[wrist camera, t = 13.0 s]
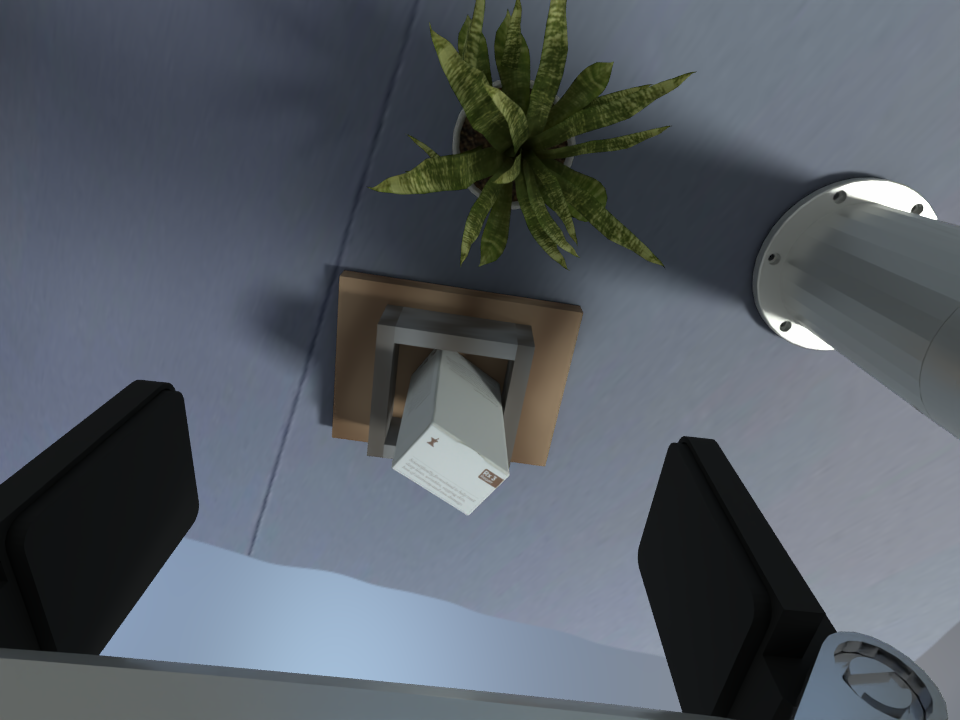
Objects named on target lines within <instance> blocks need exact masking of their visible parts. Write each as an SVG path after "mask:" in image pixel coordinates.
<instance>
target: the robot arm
mask: <svg viewBox="0 0 960 720" xmlns="http://www.w3.org/2000/svg"><path fill="white" fill-rule="evenodd" d="M835 193H836V195H835ZM834 195H835V197H834ZM833 197H834V198H833ZM771 254H772V256H771V258H769V256H770V255H771ZM768 258H769V259H768ZM753 295H754V300H755V304H756V307H757V309H758V311H759V313H760V316H761V317H762V319H763V320H764V321H765V323H766V324H767V325H768V326H769V328H771V329H772V330H773V331H774V332H775V333H776V334H778V335H779V336H780V337H782V338H783V339H785V340H786V341H788V342H790V343H792V344H794V345H797V346H800V347H803V348H807V349H813V350H836V351H838V352H839V353H840V354H842V355H843V356H844V357H846V358H847V359H849V360H850V361H851V362H853V363H854V364H855V365H857V366H858V367H859V368H861V369H862V370H864V371H865V372H866V373H868V374H869V375H870V376H872V377H873V378H874V379H876V380H877V381H879V382H880V383H881V384H883V385H884V386H885V387H887V388H888V389H890V390H891V391H892V392H894V393H895V394H896V395H898V396H899V397H900V398H902V399H903V400H905V401H906V402H907V403H909V404H910V405H911V406H913V407H914V408H915V409H917V410H918V411H920V412H921V413H922V414H924V415H925V416H926V417H928V418H929V419H931V420H932V421H933V422H935V423H936V424H937V425H939V426H940V427H942V428H943V429H945V430H946V431H947V432H949V433H950V434H952V435H953V436H954V437H956V438H957V439H959V440H960V226H958V225H954V224H951V223H947V222H943V221H940V220H938V219H937V216H936V214H935V212H934V211H933V209H932V207H931V206H930V204H929V203H928V202H927V201H926V200H925V199H924V198H923V197H922V196H921V195H920V194H919V193H918V192H917V191H915V190H913V189H911V188H910V187H908V186H906V185H904V184H901V183H897V182H894V181H890V180H885V179H879V178H873V177H869V178H852V179H848V180H843V181H839V182H835V183H833V184H830V185H828V186H825V187H823V188H820V189H818V190H816V191H815V192H813V193H811V194H810V195H808V196H806V197H805V198H803V199H801V200H800V201H799V202H798V203H796V204H795V205H794V206H793V207H792V208H790V209H789V210H788V211H787V212H786V213H785V214H784V215H783V216H782V217H781V218H780V220H779V221H778V222H777V223H776V224H775V225H774V226H773V228H772V229H771V231H770V233H769V234H768V236H767V237H766V239H765V240H764V242H763V244H762V247H761V249H760V251H759V254H758V256H757V258H756V263H755V267H754V272H753ZM781 323H782V324H781ZM198 510H199V500H198V493H197V486H196V480H195V473H194V466H193V459H192V452H191V445H190V438H189V431H188V424H187V417H186V410H185V404H184V398H183V395H182V394H181V393H180V392H179V391H175V388H174V387H173V385H172V384H170V383H166V382H156V381H146V380H136V381H134V382H132V383H131V384H130V385H128V386H127V387H126V388H124V389H123V390H122V391H120V392H119V393H118V394H117V395H115V396H114V397H113V398H111V399H110V400H109V401H108V402H106V403H105V404H104V405H102V406H101V407H100V408H99V409H97V410H96V411H95V412H93V413H92V414H91V415H90V416H88V417H87V418H86V419H84V420H83V421H82V422H81V423H79V424H78V425H77V426H75V427H74V428H73V429H71V430H70V431H69V432H68V433H66V434H65V435H64V436H62V437H61V438H60V439H59V440H57V441H56V442H55V443H53V444H52V445H51V446H50V447H48V448H47V449H46V450H44V451H43V452H42V453H41V454H39V455H38V456H37V457H35V458H34V459H33V460H32V461H30V462H29V463H28V464H26V465H25V466H24V467H23V468H21V469H20V470H19V471H17V472H16V473H15V474H13V475H12V476H11V477H10V478H8V479H7V480H6V481H4V482H3V483H2V484H1V485H0V720H948V713H947V707H946V702H945V700H944V698H943V697H942V695H941V693H940V691H939V689H938V687H937V686H936V685H935V683H934V682H933V681H932V680H931V679H930V677H929V676H928V675H927V674H926V673H925V671H924V670H922V669H921V668H920V667H919V666H918V665H917V664H916V663H914V662H913V661H912V660H911V659H910V658H909V657H907V656H906V655H904V654H903V653H901V652H900V651H898V650H897V649H895V648H894V647H892V646H891V645H889V644H887V643H885V642H882V641H880V640H878V639H876V638H874V637H872V636H868V635H864V634H860V633H857V632H837V631H836V630H835V628H834V627H833V625H832V624H831V622H830V620H829V619H828V617H827V616H826V613H825V612H824V610H823V609H822V607H821V606H820V604H819V602H818V601H817V599H816V598H815V596H814V595H813V593H812V591H811V590H810V588H809V587H808V585H807V584H806V582H805V580H804V579H803V577H802V576H801V574H800V572H799V571H798V569H797V568H796V566H795V565H794V563H793V561H792V560H791V558H790V557H789V555H788V554H787V552H786V550H785V549H784V547H783V546H782V544H781V543H780V541H779V539H778V538H777V536H776V535H775V533H774V532H773V530H772V528H771V527H770V525H769V524H768V522H767V521H766V519H765V517H764V516H763V514H762V513H761V511H760V510H759V508H758V506H757V505H756V503H755V502H754V500H753V499H752V497H751V495H750V494H749V492H748V491H747V489H746V488H745V486H744V484H743V483H742V481H741V480H740V478H739V476H738V475H737V473H736V472H735V470H734V469H733V467H732V465H731V464H730V462H729V461H728V459H727V458H726V456H725V454H724V453H723V451H722V450H721V448H720V447H719V445H718V443H717V442H716V441H715V440H713V439H706V438H696V437H687V436H683V437H682V438H681V439H680V440H679V442H678V443H671V444H670V446H669V448H668V451H667V454H666V457H665V461H664V464H663V468H662V471H661V474H660V478H659V481H658V484H657V488H656V491H655V495H654V498H653V501H652V505H651V508H650V511H649V515H648V518H647V522H646V525H645V528H644V532H643V535H642V538H641V542H640V545H639V549H638V565H639V569H640V572H641V576H642V579H643V582H644V586H645V589H646V592H647V596H648V599H649V602H650V606H651V609H652V612H653V616H654V619H655V622H656V626H657V629H658V632H659V636H660V639H661V642H662V646H663V649H664V652H665V656H666V659H667V662H668V666H669V669H670V672H671V676H672V679H673V682H674V686H675V689H676V692H677V696H678V699H679V702H680V706H681V709H682V712H683V713H681V712H673V711H664V710H655V709H647V708H639V707H631V706H622V705H612V704H604V703H594V702H584V701H573V700H564V699H553V698H544V697H534V696H525V695H515V694H505V693H495V692H485V691H475V690H465V689H455V688H445V687H435V686H424V685H414V684H403V683H393V682H383V681H372V680H362V679H352V678H340V677H330V676H320V675H309V674H299V673H298V674H297V673H287V672H277V671H267V670H256V669H245V668H234V667H223V666H211V665H200V664H189V663H177V662H166V661H156V660H144V659H133V658H122V657H111V656H100V655H99V654H100V653H101V651H102V650H103V649H104V647H105V646H106V645H107V643H108V642H109V641H110V639H111V638H112V636H113V635H114V634H115V632H116V631H117V629H118V628H119V627H120V625H121V624H122V622H123V621H124V619H125V618H126V617H127V615H128V614H129V613H130V611H131V610H132V608H133V607H134V606H135V604H136V603H137V601H138V600H139V599H140V597H141V596H142V595H143V593H144V592H145V590H146V589H147V587H148V586H149V585H150V583H151V582H152V581H153V579H154V578H155V576H156V575H157V574H158V572H159V571H160V569H161V568H162V567H163V565H164V564H165V562H166V561H167V559H168V558H169V557H170V555H171V554H172V553H173V551H174V550H175V548H176V547H177V546H178V544H179V543H180V541H181V540H182V539H183V537H184V536H185V535H186V533H187V532H188V530H189V529H190V528H191V526H192V525H193V523H194V522H195V520H196V517H197V514H198Z"/></svg>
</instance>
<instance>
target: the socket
mask: <svg viewBox="0 0 960 720" xmlns="http://www.w3.org/2000/svg"><path fill="white" fill-rule="evenodd" d="M582 316H583V311H582V309H581V307H580V306H577V305H570V304H563V303H557V302H550V301H544V300H537V299H531V298H524V297H517V296H511V295H504V294H498V293H491V292H484V291H478V290H471V289H465V288H458V287H452V286H445V285H438V284H432V283H425V282H419V281H412V280H406V279H399V278H392V277H386V276H379V275H373V274H366V273H359V272H353V271H346V270H344V271H343V273H342V274H341V275H340V277H339V298H338V320H337V342H336V363H335V385H334V407H333V428H332V437H333V438H341V439H348V440H355V441H363V442H368V450H367V456H374V457H382V458H389V459H393V457H394V453H395V449H396V443H397V439H398V434H399V430H400V425H401V421H402V416H403V412H404V407H405V402H406V398H407V393H408V389H409V384H410V379H411V376H412V374H413V373H414V372H415V371H416V370H417V368H418V367H419V366H420V365H421V364H422V363H423V362H424V360H425V359H426V358H427V357H428V356H429V355H430V353H431V352H432V351H433V350H434V349H439V350H446V351H452V352H458V353H459V354H460V355H462V356H463V357H464V358H466V359H467V360H468V361H470V362H471V363H472V364H474V365H475V366H476V367H478V368H479V369H480V370H482V371H483V372H484V373H486V374H487V375H488V376H490V377H491V378H493V379H494V380H495V381H497V382H498V383H499V384H500V392H501V402H502V411H503V421H504V430H505V440H506V449H507V458H508V467H510V462H517V463H524V464H531V465H539V466H545V464H546V460H547V456H548V452H549V448H550V444H551V440H552V436H553V432H554V428H555V424H556V420H557V416H558V412H559V408H560V404H561V400H562V396H563V392H564V388H565V384H566V380H567V376H568V372H569V368H570V364H571V360H572V356H573V352H574V348H575V344H576V340H577V336H578V332H579V328H580V324H581V320H582Z"/></svg>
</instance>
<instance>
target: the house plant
mask: <svg viewBox="0 0 960 720" xmlns="http://www.w3.org/2000/svg"><path fill="white" fill-rule="evenodd" d="M566 2H567V0H551V3H550V9H549V14H548V19H547V24H546V30H545V36H544V43H543V49H542V54H541V60H540V65H539V69H538V72H537V76H536V79H535V81H533V80H530V56H529V49H528V46H527V44H526V41H525V39H524V37H523V35H522V34H521V28H520V23H521V11H522V8H521V3H520V0H516V3H515V7H514V10H513V13H512V17H511V16H510V13H509V11H508V9H507V14H506V17H505V19H504V20H503V22H502V24H501V25H500V27H499V28H498V30H497V32H496V37H495V43H494V50H495V60H496V65H497V69H498V73H499V77H500V80H497V81H495V82H493V83H492V78H491V72H490V63H489V55H488V48H487V44H486V39H485V37H484V35H483V33H482V25H483V18H484V10H485V0H476V3H475V8H474V13H473V18H472V20H471V19H470V18H469V16H468V15H467V18H466V21H465V22H464V24H463V26H462V28H461V30H460V32H459V36H458V50H459V54H458V52H457V51H456V50H455V48H454V47H453V46H452V45H451V43H450V42H449V41H448V40H446V39H445V38H443V37H441V36H440V35H438V34H437V33H435V32H434V31H433V30H432V29H431V25H430V33H431V38H432V41H433V44H434V47H435V49H436V52H437V55H438V58H439V61H440V64H441V67H442V69H443V71H444V73H445V75H446V77H447V79H448V81H449V83H450V86H451V88H452V90H453V91H454V93H455V95H456V96H457V98H458V100H459V102H460V103H461V105H462V107H463V109H462V111H461V112H460V114H459V116H458V119H457V122H456V125H455V128H454V131H453V145H452V150H453V155H446V156H441V157H440V156H439V155H438V154H437V153H435V152H434V151H433V150H432V149H430V148H429V147H428V146H427V145H425V144H424V143H422V142H420V141H419V140H417V139H415V138H414V137H412V136H410V135H408V134H407V135H408V136H409V137H410V138H411V139H412V140H413V141H414V142H415V143H416V144H417V145H418V146H419V147H421V148H422V149H423V150H424V151H425V152H426V153H427V154H428V155H429V157H430V158H429V159H425V160H424V161H423V162H421V163H420V164H419V165H418V166H416V167H415V168H414V169H412V170H411V171H405V172H407V173H405V174H401V175H397V176H394V177H390V178H387V179H386V180H384V181H383V182H381V183H380V184H379V185H377V186H375V187H373V188H370V187H368V188H370V189H372V190H375V191H378V192H386V193H395V194H426V193H432V192H439V191H449V190H461V189H467V188H468V189H469V190H470V191H471V192H472V193H473V194H474V195H475V196H477V197H478V199H477V200H476V202H475V203H474V205H473V206H472V208H471V210H470V213H469V215H468V217H467V221H466V224H465V229H464V233H463V238H462V244H461V259H460V265H461V264H462V263H463V261H464V260H465V258H466V257H467V256H468V253H469V250H470V247H471V244H472V243H473V242H474V241H475V240H476V239H477V237H478V236H479V234H480V231H481V228H482V225H483V223H484V220H485V218H486V216H487V214H488V212H489V211H490V209H491V208H492V209H491V212H490V214H489V217H488V220H487V223H486V226H485V228H484V232H483V235H482V238H481V261H480V265H479V266H482V265H485V264H488V263H491V262H494V261H496V260H497V259H498V258H499V257H500V256H501V254H502V253H503V251H504V249H505V247H506V243H507V239H508V233H509V223H510V214H511V209H520V208H521V210H522V212H523V215H524V218H525V220H526V223H527V226H528V229H529V230H530V232H531V234H532V236H533V237H534V239H535V240H536V241H537V243H538V244H539V245H540V246H541V247H542V249H543V250H544V251H545V252H546V253H547V254H548V255H549V256H550V257H551V258H552V259H553V260H555V261H556V262H558V263H559V264H560V265H561V266H563V267H564V268H565V269H567V266H566V263H565V260H564V257H563V256H562V255H561V253H560V252H559V250H558V249H557V245H558V246H560V247H561V248H562V249H564V250H565V251H567V252H569V253H571V254H573V255H574V256H576V257H578V255H577V254H576V252H575V250H574V248H573V247H572V246H571V245H570V244H569V243H568V242H567V241H566V240H565V237H564V235H563V233H562V231H561V229H560V228H559V227H558V225H557V224H556V223H555V221H554V220H553V219H552V217H551V216H550V214H549V212H548V211H547V208H546V206H545V204H546V205H547V206H548V207H550V208H551V209H552V210H553V211H555V212H556V213H557V215H558V216H559V217H560V219H561V220H562V221H563V223H564V225H565V227H566V229H567V231H568V233H569V235H570V237H571V238H572V239H573V240H574V241H575V243H576V244H577V238H576V233H575V228H574V224H573V221H572V218H571V217H573V218H576V219H577V220H580V221H584V222H588V221H589V222H590V223H591V224H592V225H593V226H594V227H595V228H596V229H597V230H598V231H599V232H601V233H602V234H603V235H604V236H605V237H606V238H607V239H609V240H611V241H613V242H615V243H617V244H619V245H621V246H623V247H625V248H627V249H630V250H632V251H633V252H635V253H636V254H638V255H639V256H641V257H642V258H644V259H645V260H647V261H649V262H652V263H656V264H659V265H662V266H663V267H664V265H663V264H662V262H661V261H660V260H659V259H658V258H657V257H656V256H655V255H654V254H653V253H652V252H651V251H650V250H649V248H648V247H647V246H645V245H644V244H643V243H642V242H641V241H640V240H639V239H638V238H637V237H636V236H635V235H634V234H633V233H632V232H631V231H630V230H628V229H627V228H626V227H625V226H624V225H623V224H622V223H621V222H619V221H618V220H617V219H616V218H615V217H614V216H613V215H612V214H611V213H610V212H609V211H607V210H606V209H605V206H606V202H607V194H606V190H605V188H604V186H603V185H602V184H601V182H599V181H597V180H596V179H594V178H592V177H589V176H587V175H584V174H581V173H579V172H576V171H574V170H573V169H571V168H570V167H571V165H572V162H573V158H574V156H577V155H581V154H588V153H598V152H607V151H616V150H621V149H627V148H630V147H632V146H634V145H636V144H638V143H640V142H642V141H644V140H646V139H648V138H651V137H654V136H656V135H658V134H660V133H662V132H663V131H664V130H665V129H667V128H668V127H670V126H665V127H661V128H656V129H651V130H647V131H643V132H639V133H634V134H629V135H625V136H621V137H616V138H611V139H603V140H594V141H588V142H585V143H581V144H576V143H575V136H577V135H580V134H583V133H586V132H589V131H592V130H596V129H599V128H602V127H606V126H609V125H612V124H615V123H618V122H620V121H623V120H626V119H629V118H631V117H632V116H634V115H635V114H636V113H638V112H639V111H641V110H642V109H644V108H645V107H646V106H648V105H649V104H650V103H652V102H653V101H654V100H656V99H658V98H660V97H661V96H663V95H665V94H667V93H669V92H670V91H672V90H674V89H675V88H677V87H678V86H679V85H680V84H681V83H682V82H683V81H684V80H685V79H687V78H688V77H689V76H690V75H691V74H692V73H695V72H690V73H686V74H683V75H681V76H678V77H675V78H672V79H669V80H666V81H663V82H660V83H658V84H655V85H653V86H651V87H649V86H650V85H652V84H649V85H643V86H639V87H634V88H630V89H626V90H622V91H618V92H614V93H610V94H607V95H604V96H600V97H598V96H599V95H600V94H601V93H602V92H603V91H604V90H605V88H606V86H607V84H608V82H609V79H610V75H611V71H612V66H613V63H614V62H611V63H602V62H596V63H594V64H592V65H590V66H588V67H587V68H586V69H585V70H583V71H582V72H581V73H580V74H579V75H578V77H577V78H576V79H575V80H574V82H573V83H572V84H571V86H570V87H569V89H568V90H567V91H566V93H565V94H564V96H563V97H562V98H561V99H560V98H559V97H558V96H557V95H556V94H557V92H558V89H559V86H560V82H561V79H562V76H563V72H564V67H565V62H566V57H567V52H568V42H567V23H566ZM429 23H430V22H429ZM579 258H580V257H579ZM479 266H478V267H479ZM664 268H665V267H664ZM567 270H568V269H567ZM569 271H570V270H569Z"/></svg>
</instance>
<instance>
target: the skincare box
mask: <svg viewBox="0 0 960 720" xmlns="http://www.w3.org/2000/svg"><path fill="white" fill-rule="evenodd" d="M392 469H394V470H396V471H397V472H399V473H400V474H402V475H404V476H405V477H407V478H409V479H410V480H412V481H413V482H415V483H417V484H418V485H420V486H421V487H423V488H425V489H426V490H428V491H429V492H431V493H433V494H434V495H436V496H438V497H439V498H441V499H442V500H444V501H445V502H447V503H449V504H450V505H452V506H453V507H455V508H457V509H458V510H460V511H461V512H463V513H464V514H466V515H470V514H471V513H472V512H473V510H474V509H476V508H477V507H478V506H479V505H480V504H481V503H482V502H483V501H484V500H485V499H486V498H487V497H488V496H489V495H490V494H491V493H492V492H493V491H494V490H495V489H496V488H497V487H498V486H499V485H500V484H501V483H502V482H503V481H504V480H505V479H506V478H507V477H508V476H509V467H508V458H507V449H506V440H505V430H504V421H503V411H502V402H501V392H500V384H499V383H498V382H497V381H495V380H494V379H493V378H491V377H490V376H488V375H487V374H486V373H484V372H483V371H482V370H480V369H479V368H478V367H476V366H475V365H474V364H472V363H471V362H470V361H468V360H467V359H466V358H464V357H463V356H462V355H460V354H459V353H458V352H452V351H446V350H439V349H434V350H433V351H432V352H431V353H430V355H429V356H428V357H427V358H426V359H425V360H424V362H423V363H422V364H421V365H420V366H419V367H418V368H417V370H416V371H415V372H414V373H413V374H412V376H411V379H410V384H409V389H408V393H407V398H406V402H405V407H404V412H403V416H402V421H401V425H400V430H399V434H398V439H397V443H396V449H395V453H394V457H393V461H392Z"/></svg>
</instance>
